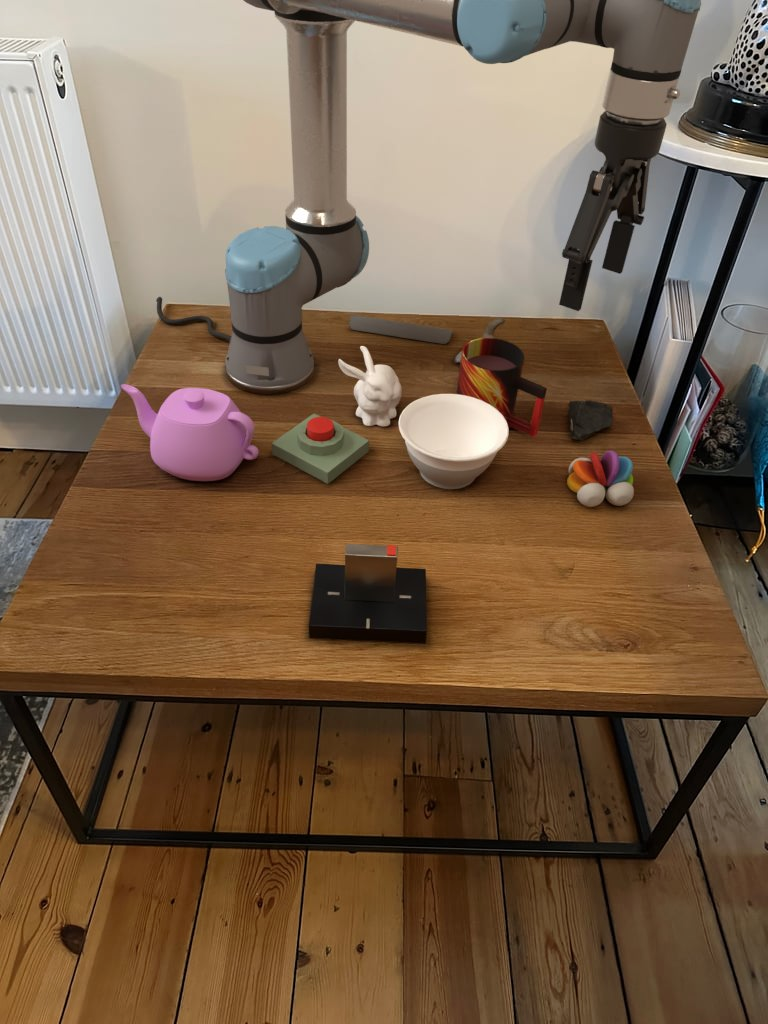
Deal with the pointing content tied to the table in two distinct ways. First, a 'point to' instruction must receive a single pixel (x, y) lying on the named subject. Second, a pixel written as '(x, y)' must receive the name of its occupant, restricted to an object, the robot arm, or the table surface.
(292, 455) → the button box
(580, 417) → the rock
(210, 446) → the teapot
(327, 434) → the button
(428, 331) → the half round rod
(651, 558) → the table surface
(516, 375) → the mug
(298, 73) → the robot arm
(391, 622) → the control panel
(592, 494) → the rainbow petal toy
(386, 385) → the rabbit
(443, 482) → the bowl
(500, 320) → the skull
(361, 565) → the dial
